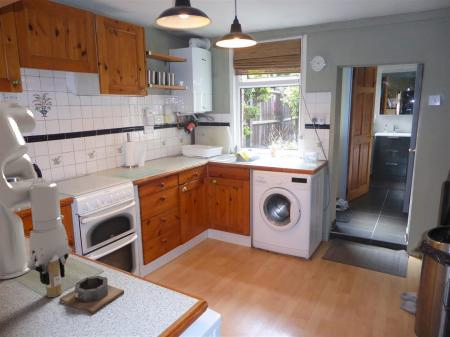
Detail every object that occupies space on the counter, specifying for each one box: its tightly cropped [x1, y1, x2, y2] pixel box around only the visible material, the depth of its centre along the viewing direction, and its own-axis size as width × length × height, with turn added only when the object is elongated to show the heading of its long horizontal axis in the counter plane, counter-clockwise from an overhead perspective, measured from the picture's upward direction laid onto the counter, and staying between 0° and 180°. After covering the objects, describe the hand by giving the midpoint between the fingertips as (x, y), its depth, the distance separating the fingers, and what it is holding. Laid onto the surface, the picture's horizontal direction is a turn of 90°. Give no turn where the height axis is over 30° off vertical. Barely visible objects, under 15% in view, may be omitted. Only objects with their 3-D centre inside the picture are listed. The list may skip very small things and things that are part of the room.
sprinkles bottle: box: [45, 255, 64, 298], centre depth 101 cm, size 5×5×13 cm
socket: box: [74, 275, 109, 303], centre depth 100 cm, size 9×11×4 cm
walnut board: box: [59, 284, 125, 315], centre depth 101 cm, size 14×12×1 cm
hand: (53, 279), depth 102 cm, fingers closed on sprinkles bottle, 4 cm apart
